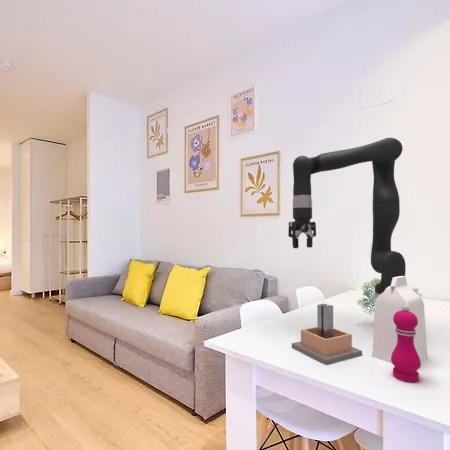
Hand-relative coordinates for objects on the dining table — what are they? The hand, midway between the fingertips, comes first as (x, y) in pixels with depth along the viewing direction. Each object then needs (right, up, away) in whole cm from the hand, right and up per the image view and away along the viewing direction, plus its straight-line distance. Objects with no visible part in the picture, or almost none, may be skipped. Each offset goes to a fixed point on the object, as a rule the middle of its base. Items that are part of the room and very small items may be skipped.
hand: (302, 247), depth 126 cm
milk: (+25, -34, -25) cm, 49 cm away
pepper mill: (+19, -34, -38) cm, 54 cm away
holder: (+3, -34, -19) cm, 39 cm away
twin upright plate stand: (+3, -32, -19) cm, 37 cm away
